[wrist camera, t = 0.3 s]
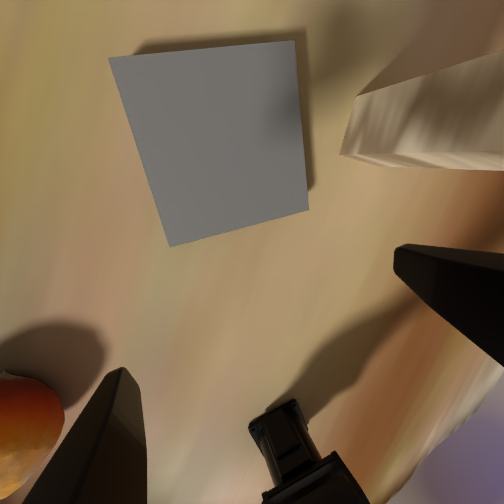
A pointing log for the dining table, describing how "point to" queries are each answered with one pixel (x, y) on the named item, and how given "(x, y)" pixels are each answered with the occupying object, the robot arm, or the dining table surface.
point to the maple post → (434, 119)
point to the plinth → (217, 135)
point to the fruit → (25, 428)
